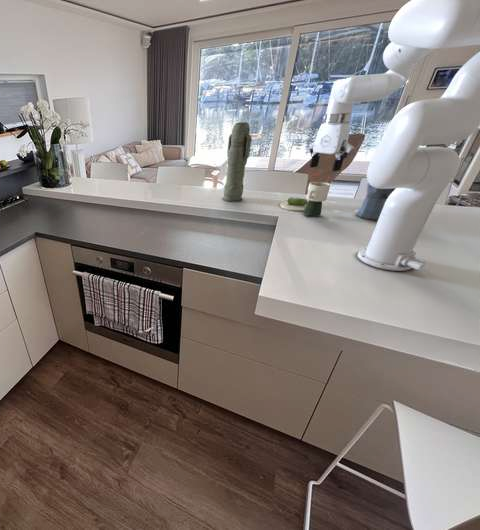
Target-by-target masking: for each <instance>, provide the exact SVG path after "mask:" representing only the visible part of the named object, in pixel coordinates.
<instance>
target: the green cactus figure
mask: <svg viewBox="0 0 480 530" xmlns="http://www.w3.org/2000/svg"><path fill="white" fill-rule="evenodd" d="M250 131H251V129H250V123H248V122H236V123H234V125H233V127H232V130H231V133H230V134H229V136H228V142H227V143H228V144H227V151H226V152H227V154H226V155H227V160H226V161H227V162H226V164H227V171H226V179H225V180H226V182H225V184H224V186H223V187H224V189H223V200H224V201H226V202H230V203H231V202H233V203H235V202H240V201H242V200H243V199H242V197H243V193H244V177H245V171H246V165H247V163H248V159H249V157H250V150H251V145H252V135H251V134H250Z"/></svg>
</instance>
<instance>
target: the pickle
mask: <svg viewBox="0 0 480 530" xmlns="http://www.w3.org/2000/svg"><path fill="white" fill-rule="evenodd" d="M286 201H287V202H288V203H289V204H294V205H300V206H305V205H306V204H307V202H308V199H307V198H300V197H292V196H291V197H289V198H287V200H286Z"/></svg>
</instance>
